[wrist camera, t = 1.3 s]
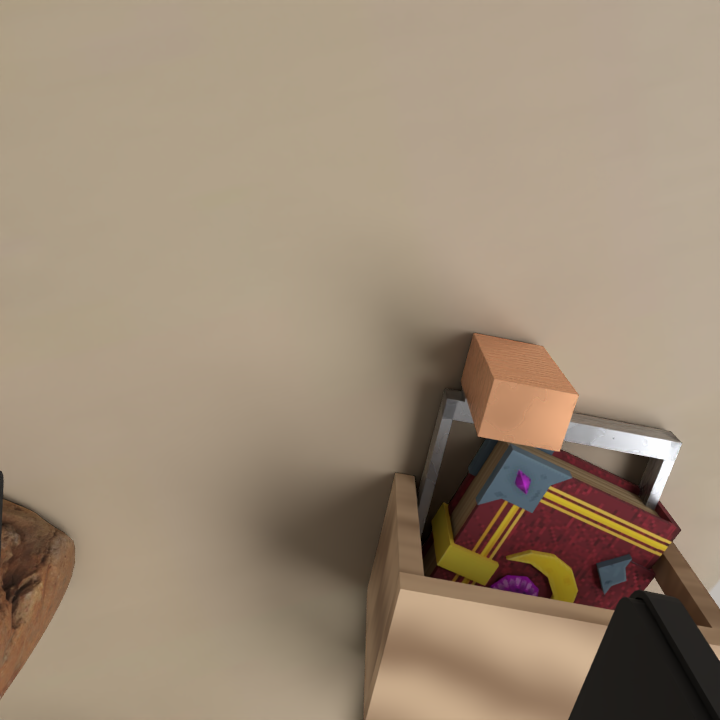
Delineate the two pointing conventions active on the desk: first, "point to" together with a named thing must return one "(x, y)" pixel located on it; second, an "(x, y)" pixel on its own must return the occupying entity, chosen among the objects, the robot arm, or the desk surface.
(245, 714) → the desk surface
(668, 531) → the decorative book
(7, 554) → the block
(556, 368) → the tray
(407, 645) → the wooden arch stand
